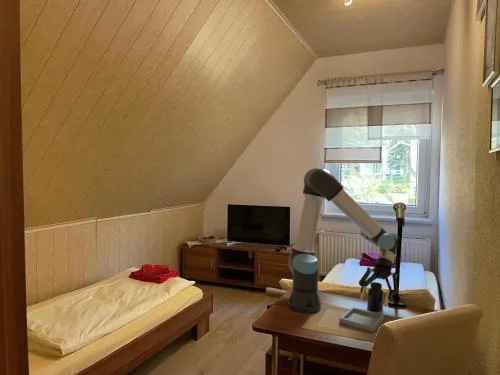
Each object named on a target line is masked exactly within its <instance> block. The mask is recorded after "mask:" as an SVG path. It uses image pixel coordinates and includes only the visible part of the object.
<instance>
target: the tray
mask: <svg viewBox="0 0 500 375" xmlns="http://www.w3.org/2000/svg"><path fill="white" fill-rule="evenodd" d="M384 321H385V314H381V313H379V312H375V311H371V310H366V309H362V308H359V307H354V306H351V308H350V309H348V310H347V311H346V312H345V313H343V314H342V315H341V316H340V317H339V321H338V322H339V324H341V325H344V326H347V327H349V328H354V329H357V330H361V331H364V332H367V333H371V334H374V333H375V331H376V330H377V329H378V328H379V327H380V326H381V325H382V323H384Z"/></svg>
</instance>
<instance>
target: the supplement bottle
mask: <svg viewBox="0 0 500 375" xmlns="http://www.w3.org/2000/svg"><path fill="white" fill-rule="evenodd" d="M384 294H385V293H384V290H383V287H382V283H380V282H376V281H373V282H371V283H370V288H368V289H367V302H366V303H367V305H366V307H367V309H368V311H371V312H375V313H380V312H382V311H383V308H384Z"/></svg>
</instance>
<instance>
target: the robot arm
mask: <svg viewBox="0 0 500 375" xmlns="http://www.w3.org/2000/svg"><path fill="white" fill-rule="evenodd" d="M303 184H304V186H303V190H302V194H303V196H304V201H303V205H302V206H303V207H302V212H301V216H300V221H299V226H298V232H297V236H296V242H295V244H294V245H292V246H291V252H290V254H288V258H287V265H288V268H289V270H290V272H291V273H292V274H291V275H292V290H291V291H290V295H289V298H288V302H287V304H288V307H289V309H291V310H292V311H295V312H298V313H304V314H305V313H306V314H309V313H310V314H311V313H316V312H319V311H321V309H322V302H321V299H320V298H321V297H320V295H319V268H320V264H319V259H318V258H317V256H315V254H316V250H315V248H314V245H315V243H314V242H315V239H316V234H317V230H318V224H319V220H320V215H321V209H322V204H323V201H324V200H327V201H328V202H331V203H333V205H335V206H336V207H337V209H339V210H340V211H341V212H342V213H343V214H344V215H345V216H346V217H347V218H348V219H349V220H350V221H351V222H353V224H354V225H355V226H357V228H359V230H360V232H359V233H360V236H361V237H362V238H364V239H365V240H367V241H369V242H370V243H372V244H374V245H375V246H376V247H378V248H379V252H378V255H377V258H376V262H375V264H374V265H375V266H374V267H373V268H372V267H367V268H366V271H365V272H364V274H363V276H362V277H361V279H360V280H359V281H358V285H359V286H360V287H361V288H360V298H359V299H360V301H361V302H364V299H365V296H366V294H367V291H368V289H367V287H368V286H369V285H371V283H372V282H375V280H377V279H379V280H383V281H384V280H385V283H386V285H387V288H388V290H387V292H386V294H385V299H384V301H383V306H384V307H385V308H387V307H388V304H389V301H392V299H393V298H392V297H393V295H394V294H395V295H397V294H398V285H397V284H398V283H397V278H398V273H397V272H396V271H395V272H393V271H392V269H393V267H394V266H393V265H394V263H395V262H394V261H395V258H396V253H397V251H398V248H397V237H399V235H398V234H396V233H393V232H391V231H390V232H389V231H388V232H387V231H386V229H384V228H383V227H382V226H381V225H380V224H379V223H378V222H377V221H376V220H375V219H374V218H373V217H372V216H371V215H370V214H369V213H368V212H367V211H366V210H365V209H364V208H363V207H361V205H360V204H359V203H357V202H356V200H354V199H353V197H351V196H350V195H349V193H348V192H346V191H345V189H344V186H343V185H342V183H340V182H339V180H338V178H336V177H335V175H333V174H332V173H331V172H330V171H329V170H327V169H324V168H320V167H318V168H317V167H316V168H315V167H314V168H311V169H310V170H308V171H307V172H306V173H305V175H304V177H303ZM370 275H371V276H370ZM389 277H392V282H393V289H392V286H391V283H390V281H389Z"/></svg>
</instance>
